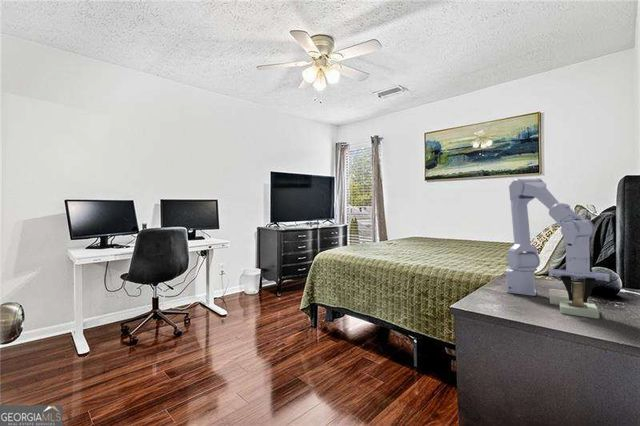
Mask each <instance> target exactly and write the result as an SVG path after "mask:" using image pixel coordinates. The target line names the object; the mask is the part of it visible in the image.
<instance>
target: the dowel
mask: <svg viewBox="0 0 640 426" xmlns="http://www.w3.org/2000/svg"><path fill="white" fill-rule="evenodd" d="M571 291H572V307H580V308H584V284H583V283H580V281H579V282H577V281H574V282H573V281H572V284H571Z"/></svg>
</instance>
